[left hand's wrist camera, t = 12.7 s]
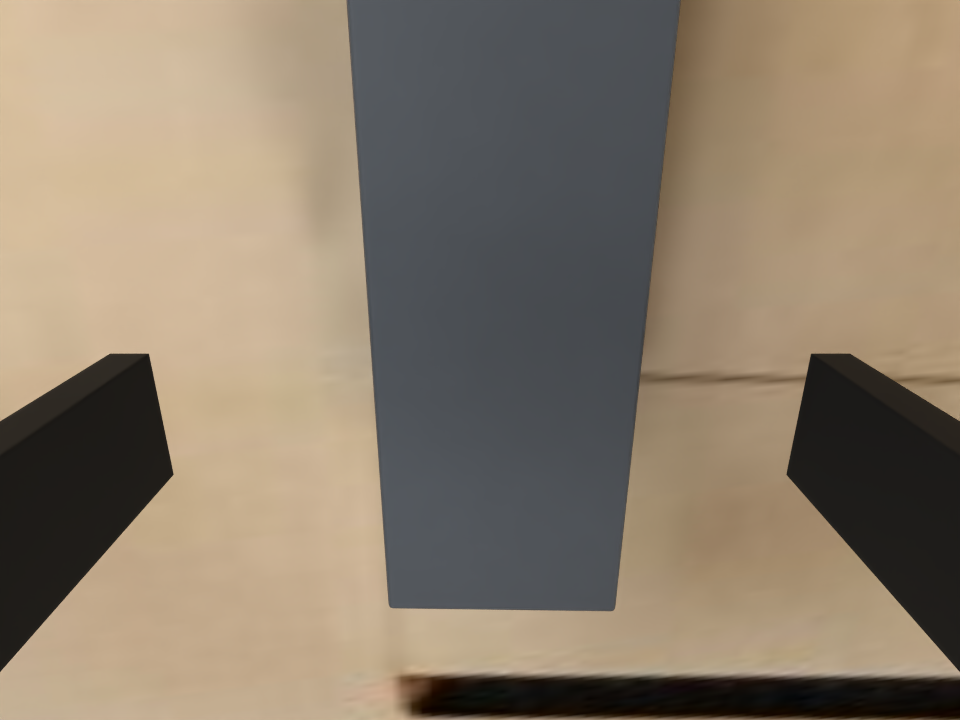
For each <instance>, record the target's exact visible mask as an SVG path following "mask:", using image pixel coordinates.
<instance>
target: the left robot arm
mask: <svg viewBox="0 0 960 720" xmlns="http://www.w3.org/2000/svg"><path fill="white" fill-rule="evenodd" d="M173 475H174V474H173V469H172V465H171V460H170V455H169V450H168V445H167V440H166V435H165V430H164V426H163V421H162V416H161V411H160V406H159V401H158V396H157V391H156V386H155V382H154V377H153V372H152V367H151V362H150V357H149V354H109V355H107V356H106V357H104V358H102V359H101V360H99V361H98V362H96V363H94V364H93V365H91V366H89V367H88V368H86V369H85V370H83V371H81V372H80V373H78V374H76V375H75V376H73V377H72V378H70V379H68V380H67V381H65V382H63V383H62V384H60V385H59V386H57V387H55V388H54V389H52V390H51V391H49V392H47V393H46V394H44V395H42V396H41V397H39V398H38V399H36V400H34V401H33V402H31V403H29V404H28V405H26V406H25V407H23V408H21V409H20V410H18V411H16V412H15V413H13V414H12V415H10V416H8V417H7V418H5V419H3V420H2V421H0V671H1V670H2V669H3V668H4V667H5V666H6V665H7V663H8V662H9V661H10V660H11V659H12V658H13V657H14V655H15V654H16V653H17V652H18V651H19V650H20V649H21V648H22V646H23V645H24V644H25V643H26V642H27V641H28V640H29V638H30V637H31V636H32V635H33V634H34V633H35V632H36V630H37V629H38V628H39V627H40V626H41V625H42V624H43V622H44V621H45V620H46V619H47V618H48V617H49V616H50V615H51V613H52V612H53V611H54V610H55V609H56V608H57V607H58V605H59V604H60V603H61V602H62V601H63V600H64V599H65V597H66V596H67V595H68V594H69V593H70V592H71V591H72V589H73V588H74V587H75V586H76V585H77V584H78V583H79V582H80V580H81V579H82V578H83V577H84V576H85V575H86V574H87V572H88V571H89V570H90V569H91V568H92V567H93V566H94V564H95V563H96V562H97V561H98V560H99V559H100V558H101V557H102V555H103V554H104V553H105V552H106V551H107V550H108V549H109V547H110V546H111V545H112V544H113V543H114V542H115V541H116V539H117V538H118V537H119V536H120V535H121V534H122V533H123V531H124V530H125V529H126V528H127V527H128V526H129V525H130V524H131V522H132V521H133V520H134V519H135V518H136V517H137V516H138V514H139V513H140V512H141V511H142V510H143V509H144V508H145V506H146V505H147V504H148V503H149V502H150V501H151V500H152V498H153V497H154V496H155V495H156V494H157V493H158V492H159V491H160V489H161V488H162V487H163V486H164V485H165V484H166V483H167V481H168V480H169V479H170V478H171V477H172V476H173ZM786 475H787V476H788V477H789V478H790V479H791V480H792V481H793V483H794V484H795V485H796V486H797V487H798V488H799V489H800V491H801V492H802V493H803V494H804V495H805V496H806V497H807V498H808V500H809V501H810V502H811V503H812V504H813V505H814V506H815V508H816V509H817V510H818V511H819V512H820V513H821V514H822V516H823V517H824V518H825V519H826V520H827V521H828V522H829V524H830V525H831V526H832V527H833V528H834V529H835V530H836V531H837V533H838V534H839V535H840V536H841V537H842V538H843V539H844V541H845V542H846V543H847V544H848V545H849V546H850V547H851V549H852V550H853V551H854V552H855V553H856V554H857V555H858V557H859V558H860V559H861V560H862V561H863V562H864V563H865V564H866V566H867V567H868V568H869V569H870V570H871V571H872V572H873V574H874V575H875V576H876V577H877V578H878V579H879V580H880V582H881V583H882V584H883V585H884V586H885V587H886V588H887V589H888V591H889V592H890V593H891V594H892V595H893V596H894V597H895V599H896V600H897V601H898V602H899V603H900V604H901V605H902V607H903V608H904V609H905V610H906V611H907V612H908V613H909V615H910V616H911V617H912V618H913V619H914V620H915V621H916V622H917V624H918V625H919V626H920V627H921V628H922V629H923V630H924V632H925V633H926V634H927V635H928V636H929V637H930V638H931V640H932V641H933V642H934V643H935V644H936V645H937V646H938V648H939V649H940V650H941V651H942V652H943V653H944V654H945V655H946V657H947V658H948V659H949V660H950V661H951V662H952V663H953V665H954V666H955V667H956V668H957V669H958V670H959V671H960V421H958V420H957V419H955V418H953V417H952V416H950V415H948V414H947V413H945V412H944V411H942V410H940V409H939V408H937V407H935V406H934V405H932V404H931V403H929V402H927V401H926V400H924V399H922V398H921V397H919V396H918V395H916V394H914V393H913V392H911V391H909V390H908V389H906V388H905V387H903V386H901V385H900V384H898V383H897V382H895V381H893V380H892V379H890V378H888V377H887V376H885V375H884V374H882V373H880V372H879V371H877V370H875V369H874V368H872V367H871V366H869V365H867V364H866V363H864V362H862V361H861V360H859V359H858V358H856V357H854V356H853V355H851V354H811V357H810V362H809V367H808V372H807V377H806V382H805V386H804V391H803V396H802V401H801V406H800V411H799V416H798V421H797V426H796V430H795V435H794V440H793V445H792V450H791V455H790V460H789V465H788V469H787V474H786Z"/></svg>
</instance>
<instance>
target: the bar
mask: <svg viewBox="0 0 960 720" xmlns="http://www.w3.org/2000/svg"><path fill="white" fill-rule="evenodd" d="M680 3H681V0H347V13H348V27H349V41H350V56H351V70H352V84H353V99H354V113H355V127H356V142H357V156H358V171H359V185H360V199H361V214H362V228H363V242H364V257H365V271H366V285H367V300H368V314H369V328H370V343H371V357H372V371H373V386H374V400H375V414H376V429H377V443H378V457H379V472H380V486H381V500H382V515H383V529H384V544H385V558H386V572H387V587H388V601H389V606H390V607H391V608H418V609H492V610H566V611H613V610H614V609H615V603H616V594H617V585H618V576H619V566H620V557H621V548H622V539H623V529H624V520H625V511H626V502H627V492H628V483H629V474H630V465H631V455H632V446H633V437H634V428H635V419H636V409H637V400H638V391H639V382H640V372H641V363H642V354H643V345H644V335H645V326H646V317H647V308H648V298H649V289H650V280H651V271H652V261H653V252H654V243H655V234H656V224H657V215H658V206H659V197H660V187H661V178H662V169H663V160H664V150H665V141H666V132H667V123H668V113H669V104H670V95H671V86H672V76H673V67H674V58H675V49H676V40H677V30H678V21H679V12H680Z"/></svg>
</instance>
